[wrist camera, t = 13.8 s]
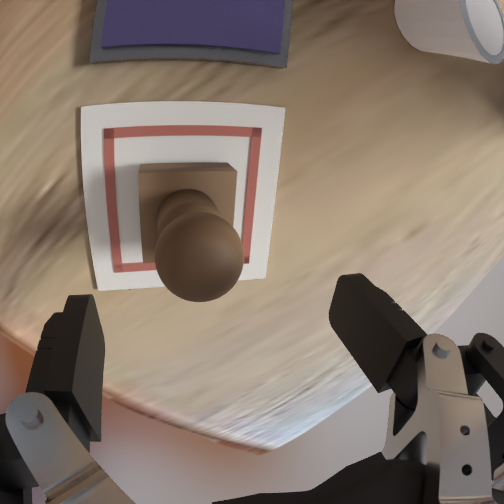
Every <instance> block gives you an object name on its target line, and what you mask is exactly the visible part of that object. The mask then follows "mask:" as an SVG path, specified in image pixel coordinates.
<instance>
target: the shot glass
mask: <svg viewBox="0 0 504 504" xmlns="http://www.w3.org/2000/svg"><path fill="white" fill-rule="evenodd" d="M394 14H395V18H396V22H397V25H398V27H399V29H400V31H401V33H402V35H403V37H404V38H405V39H406V40H407V41H408V42H409V43H410V45H411V46H413V47H414V48H416V49H418V50H420V51H424V52H432V53H439V54H445V55H451V56H457V57H463V58H468V59H473V60H477V61H482V62H486V63H491V64H499V63H500V62H501V61H502V60H503V59H504V16H503V14H502V11H501V9H500V6H499V4H498V1H497V0H395V6H394Z"/></svg>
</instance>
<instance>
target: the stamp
mask: <svg viewBox="0 0 504 504" xmlns="http://www.w3.org/2000/svg"><path fill="white" fill-rule="evenodd" d="M236 183H237V170H235V169H234V168H233V167H232V166H231V165H230V164H229V163H227V162H187V163H152V164H140V167H139V172H138V186H139V213H140V230H141V245H142V257H143V263H155V266H156V270H157V273H158V275H159V277H160V279H161V281H162V282H163V284H164V285H165V286H166V287H167V288H168V290H169V291H171V292H172V293H173V294H175V295H176V296H178V297H180V298H182V299H185V300H188V301H193V302H206V301H211V300H214V299H217V298H219V297H221V296H223V295H224V294H226V293H227V292H228V291H229V290H230V289H231V288H232V287H233V286H234V285H235V284H236V282H237V281H238V279H239V277H240V275H241V272H242V269H243V264H244V249H243V245H242V241H241V239H240V237H239V235H238V233H237V232H236V230H235V229H234V228H233V224H234V210H235V196H236Z"/></svg>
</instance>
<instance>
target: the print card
mask: <svg viewBox="0 0 504 504" xmlns="http://www.w3.org/2000/svg"><path fill="white" fill-rule="evenodd" d="M284 117H285V108H283V107H275V106H265V105H254V104H241V103H225V102H200V101H154V102H129V103H114V104H102V105H91V106H82V107H81V154H82V174H83V188H84V199H85V209H86V218H87V226H88V233H89V240H90V247H91V253H92V259H93V265H94V271H95V276H96V281H97V286H98V291H103V290H120V289H136V288H150V287H164V286H165V285H164V284H163V282H162V281H161V279H160V277H159V275H158V273H157V270H156V266H155V263H143V257H142V245H141V230H140V213H139V186H138V172H139V167H140V164H152V163H187V162H227V163H229V164H230V165H231V166H232V167H233V168H234V169H235V170H237V183H236V196H235V210H234V224H233V228H234V229H235V230H236V232H237V233H238V235H239V237H240V239H241V241H242V245H243V249H244V264H243V269H242V272H241V275H240V277H239V279H238V281H239V280H250V279H261V278H265V277H266V269H267V262H268V254H269V246H270V238H271V230H272V222H273V213H274V205H275V197H276V188H277V180H278V171H279V162H280V154H281V145H282V136H283V127H284Z"/></svg>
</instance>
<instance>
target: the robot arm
mask: <svg viewBox="0 0 504 504" xmlns="http://www.w3.org/2000/svg"><path fill="white" fill-rule="evenodd" d="M329 321H330V324H331V327H332V328H333V330H334V331H335V332H336V334H337V335H338V337H339V338H340V339H341V341H342V342H343V344H344V345H345V347H346V348H347V349H348V351H349V352H350V354H351V355H352V356H353V358H354V359H355V361H356V362H357V363H358V365H359V366H360V368H361V369H362V371H363V372H364V373H365V375H366V376H367V378H368V379H369V381H370V382H371V383H372V385H373V386H374V388H375V389H376V391H377V392H378V393H380V392H383V391H385V390H388V389H392V390H393V393H392V395H391V397H390V405H389V417H388V428H387V436H386V442H385V446H384V448H383V450H382V452H379V453H377V454H375V455H372V456H371V457H368V458H366V459H363V460H361V461H359V462H356V463H354V464H351V465H349V466H346V467H345V468H344V469H342V470H341V471H339V472H338V473H336V474H335V475H334V476H332V477H331V478H329V479H328V480H326V481H325V482H323V483H322V484H320V485H318V486H317V487H315V488H314V489H312V490H309V491H302V492H288V493H259V494H255V495H250V496H245V497H241V498H235V499H230V500H224V501H217V502H212V504H504V347H503V346H502V345H501V344H500V343H499V342H498V341H497V340H496V339H495V338H494V337H492V336H490V335H488V334H485V333H477V334H476V335H475V336H474V337H473V339H472V341H471V342H470V344H469V345H467V346H457V345H456V344H455V343H454V342H453V341H452V340H451V339H449V338H448V337H446V336H443V335H440V334H429V335H427V334H426V333H425V332H424V331H423V330H422V329H421V327H420V326H419V325H418V324H417V323H416V322H415V321H414V320H413V319H412V318H411V317H410V316H409V315H408V314H407V313H406V312H405V311H404V310H403V311H402V308H401V307H400V306H399V305H398V304H397V303H395V301H394V300H393V299H392V298H391V297H390V296H389V295H388V294H387V293H386V292H384V291H383V290H381V289H379V288H378V287H376V286H374V285H373V284H372V283H371V282H370V281H369V280H368V279H367V278H366V277H365V276H364V275H363V274H361V273H357V274H349V275H342V276H340V277H339V279H338V281H337V284H336V288H335V292H334V295H333V299H332V303H331V306H330V310H329ZM37 349H38V351H36V354H35V357H34V361H33V365H32V368H31V372H30V376H29V380H28V384H27V388H26V392H25V393H24V394H22V395H19V396H18V397H16V398H15V399H14V400H13V401H12V402H11V403H10V405H9V407H8V409H7V411H6V413H4V414H1V415H0V504H32V487H38V486H40V487H41V489H42V490H43V492H44V493H45V495H46V497H47V500H46V504H135V503H134V501H133V500H131V499H130V498H129V497H128V496H127V495H126V494H125V493H124V491H123V490H122V489H121V488H120V487H119V486H118V485H117V484H116V483H115V482H114V481H113V480H112V479H111V478H110V477H109V475H108V474H107V473H106V472H105V471H104V470H103V469H102V468H101V467H100V466H99V464H98V463H97V462H96V461H95V460H94V458H93V457H92V456H91V455H90V451H89V450H90V441H95V442H96V441H97V442H100V441H101V409H102V386H103V370H104V357H105V342H104V335H103V331H102V327H101V323H100V320H99V316H98V312H97V308H96V304H95V300H94V297H93V295H92V294H88V295H69V296H68V298H67V301H66V304H65V307H64V310H63V312H58V313H54V314H53V315H52V316H51V317H50V319H49V320H48V321H47V322H46V323H45V325H44V328H43V331H42V334H41V340H40V341H39V344H38V347H37ZM486 380H487V382H488V383H489V384H490V385H491V387H492V388H493V389H494V390H495V392H496V393H497V394H498V395H499V397H500V398H501V399H502V401H503V411H502V412H501V414H500V415H499V416H498V417H497V418H495V417H494V416H493V415H492V414H491V412H490V411H489V409H488V408H487V407H486V405H485V404H484V403H483V401H482V399H481V397H479V396H478V395H477V394H476V393H477V391H478V390H479V389H480V387H481V386H482V385H483V383H484V382H485V381H486ZM491 479H492V481H491Z"/></svg>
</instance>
